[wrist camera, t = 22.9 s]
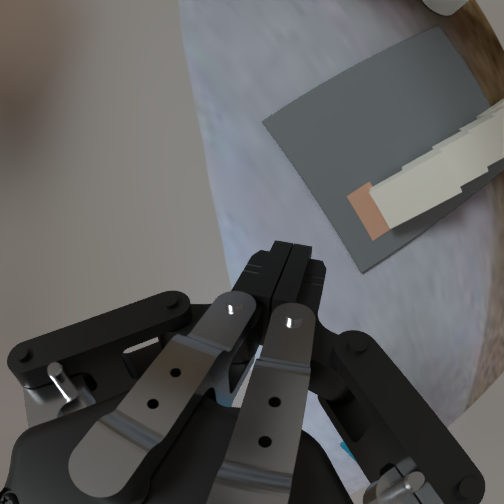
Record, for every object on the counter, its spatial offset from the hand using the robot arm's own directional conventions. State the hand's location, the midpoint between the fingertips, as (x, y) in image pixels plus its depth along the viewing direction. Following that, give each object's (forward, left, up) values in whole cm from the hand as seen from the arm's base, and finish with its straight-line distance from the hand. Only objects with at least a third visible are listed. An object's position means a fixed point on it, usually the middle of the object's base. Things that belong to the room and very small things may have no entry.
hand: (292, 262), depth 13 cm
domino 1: (+6, +14, -23) cm, 28 cm away
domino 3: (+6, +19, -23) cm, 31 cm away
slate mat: (+1, +18, -24) cm, 30 cm away
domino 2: (+6, +9, -23) cm, 25 cm away
